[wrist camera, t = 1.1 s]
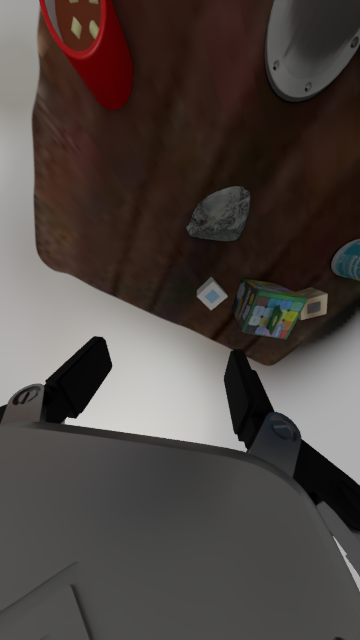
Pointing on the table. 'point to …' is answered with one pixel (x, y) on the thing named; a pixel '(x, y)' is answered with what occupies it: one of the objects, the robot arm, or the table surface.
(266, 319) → the chalk box
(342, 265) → the pill bottle
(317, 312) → the marked block beech
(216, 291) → the marked block white
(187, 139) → the table surface
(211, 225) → the stone
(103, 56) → the mug
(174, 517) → the robot arm
